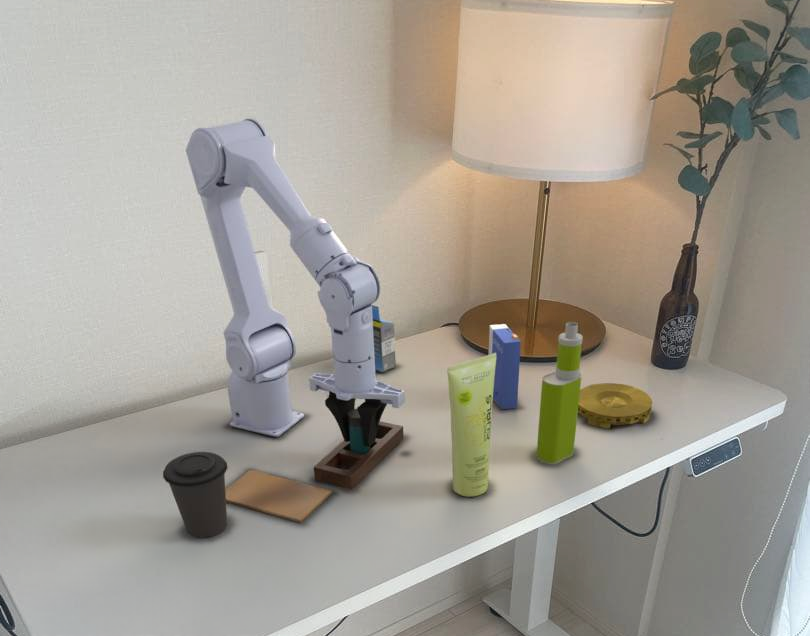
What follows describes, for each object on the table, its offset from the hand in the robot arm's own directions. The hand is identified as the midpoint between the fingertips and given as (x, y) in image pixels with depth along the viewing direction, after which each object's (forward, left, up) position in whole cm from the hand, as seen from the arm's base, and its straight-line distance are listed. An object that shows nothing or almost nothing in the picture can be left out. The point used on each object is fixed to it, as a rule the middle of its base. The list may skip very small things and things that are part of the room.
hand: (359, 441), depth 119 cm
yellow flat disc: (+30, +30, -3) cm, 43 cm away
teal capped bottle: (0, 0, -3) cm, 3 cm away
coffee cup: (-10, -24, -3) cm, 26 cm away
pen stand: (0, 0, -3) cm, 3 cm away
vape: (+26, +13, -3) cm, 29 cm away
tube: (+18, -1, -3) cm, 18 cm away
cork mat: (-6, -14, -3) cm, 16 cm away
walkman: (+12, +27, -3) cm, 30 cm away
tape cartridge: (-15, +31, -3) cm, 35 cm away
